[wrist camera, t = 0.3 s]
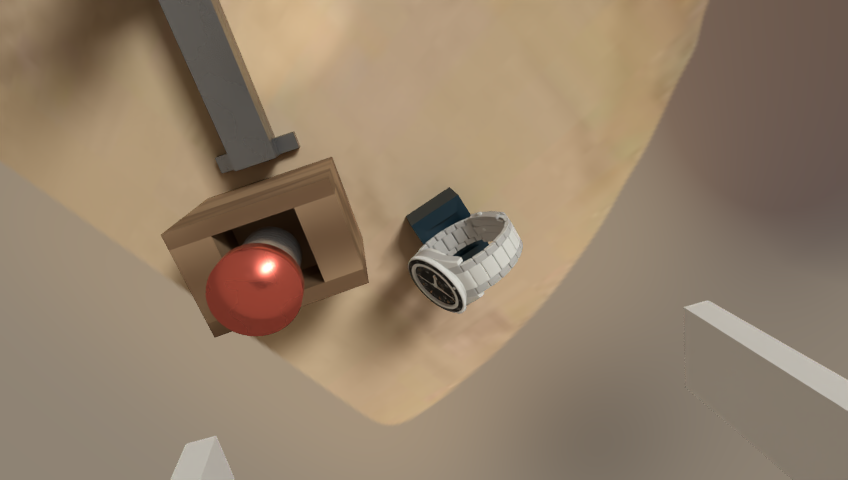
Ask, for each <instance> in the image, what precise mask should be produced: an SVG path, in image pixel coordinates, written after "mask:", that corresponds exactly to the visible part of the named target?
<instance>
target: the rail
mask: <svg viewBox="0 0 848 480" xmlns="http://www.w3.org/2000/svg"><path fill="white" fill-rule="evenodd" d="M158 1H159V3H160V5H161V7H162V9H163V12H164V14H165V16H166V18H167V21H168V23H169V25H170V27H171V30H172V32H173V34H174V36H175V38H176V41H177V43H178V45H179V47H180V50H181V52H182V54H183V56H184V59H185V61H186V63H187V65H188V67H189V70H190V72H191V74H192V76H193V79H194V81H195V83H196V85H197V88H198V90H199V92H200V94H201V96H202V99H203V101H204V103H205V105H206V108H207V110H208V112H209V114H210V117H211V119H212V121H213V123H214V125H215V128H216V130H217V132H218V134H219V137H220V139H221V141H222V143H223V146H224V148H225V150H226V152H227V154H224V155H221V156H218V157H216V158H215V160H216V162H217V164H218V166H219V168H220V170H221V173H225V172H228V171H231V170H235V171H238V170H241V169H244V168H247V167H250V166H253V165H256V164H259V163H262V162H265V161H268V160H271V159H274V158H276V157H277V156H279V155H280V154H282V153H285V152H288V151H291V150H294V149H297V148H299V147H300V145H299V142H298V140H297V137H296V135H295V132H291V133H288V134H285V135H282V136H279V137H275V136H274V134H273V131H272V129H271V126H270V124H269V122H268V119H267V117H266V114H265V112H264V109H263V107H262V104H261V102H260V100H259V97H258V95H257V92H256V90H255V87H254V85H253V82H252V80H251V78H250V75H249V73H248V70H247V68H246V65H245V63H244V60H243V58H242V56H241V53H240V51H239V48H238V46H237V43H236V41H235V38H234V36H233V34H232V31H231V29H230V26H229V24H228V21H227V19H226V17H225V14H224V12H223V9H222V7H221V4H220V2H219V0H158Z"/></svg>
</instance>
